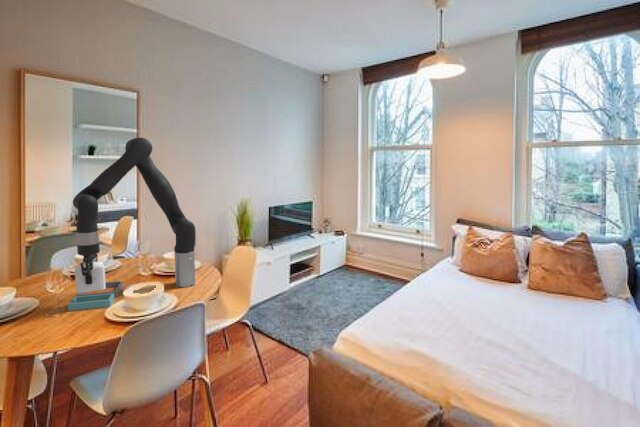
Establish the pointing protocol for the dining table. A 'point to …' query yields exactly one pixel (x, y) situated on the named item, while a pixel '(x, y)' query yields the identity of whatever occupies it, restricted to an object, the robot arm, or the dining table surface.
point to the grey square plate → (109, 284)
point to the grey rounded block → (97, 279)
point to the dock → (91, 302)
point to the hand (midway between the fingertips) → (91, 281)
